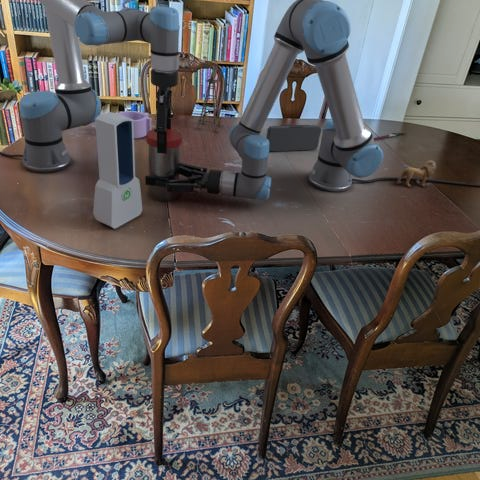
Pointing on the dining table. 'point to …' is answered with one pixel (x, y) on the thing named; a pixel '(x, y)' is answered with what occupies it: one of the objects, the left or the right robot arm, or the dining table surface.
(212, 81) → the dark tall lattice tower
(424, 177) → the lion figurine
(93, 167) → the dining table surface
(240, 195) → the right robot arm
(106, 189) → the electronic device
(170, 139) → the lid
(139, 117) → the clip
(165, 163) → the jar
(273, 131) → the handheld gaming console
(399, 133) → the sword
